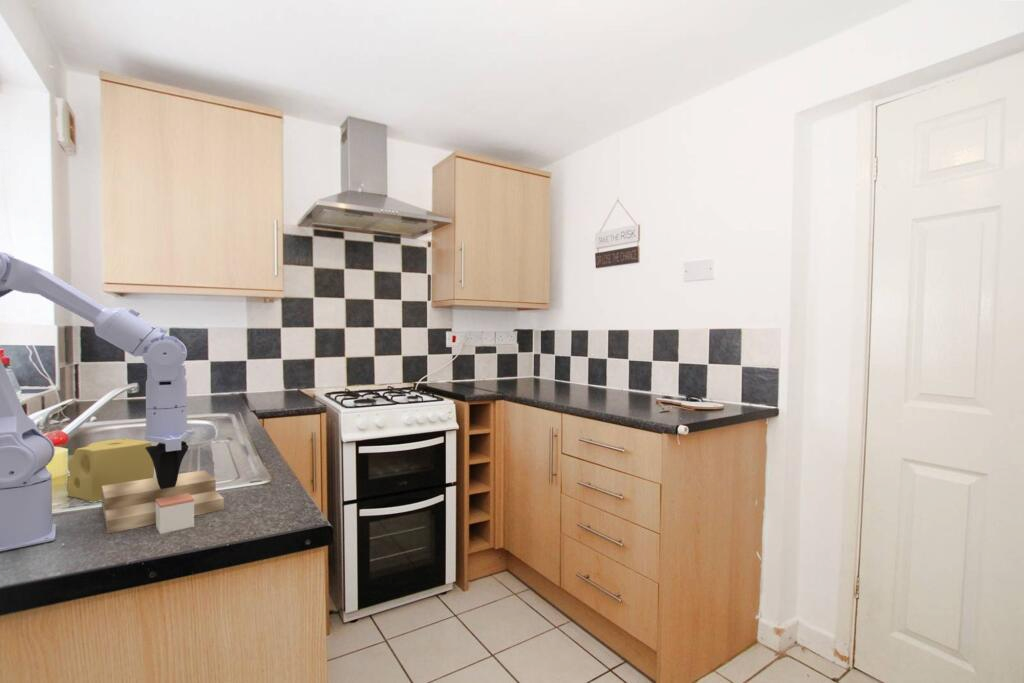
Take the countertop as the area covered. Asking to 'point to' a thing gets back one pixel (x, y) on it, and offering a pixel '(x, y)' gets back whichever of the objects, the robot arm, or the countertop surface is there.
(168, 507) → the white cube
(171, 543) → the countertop surface
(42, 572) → the countertop surface
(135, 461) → the cheese
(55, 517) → the countertop surface
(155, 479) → the step
